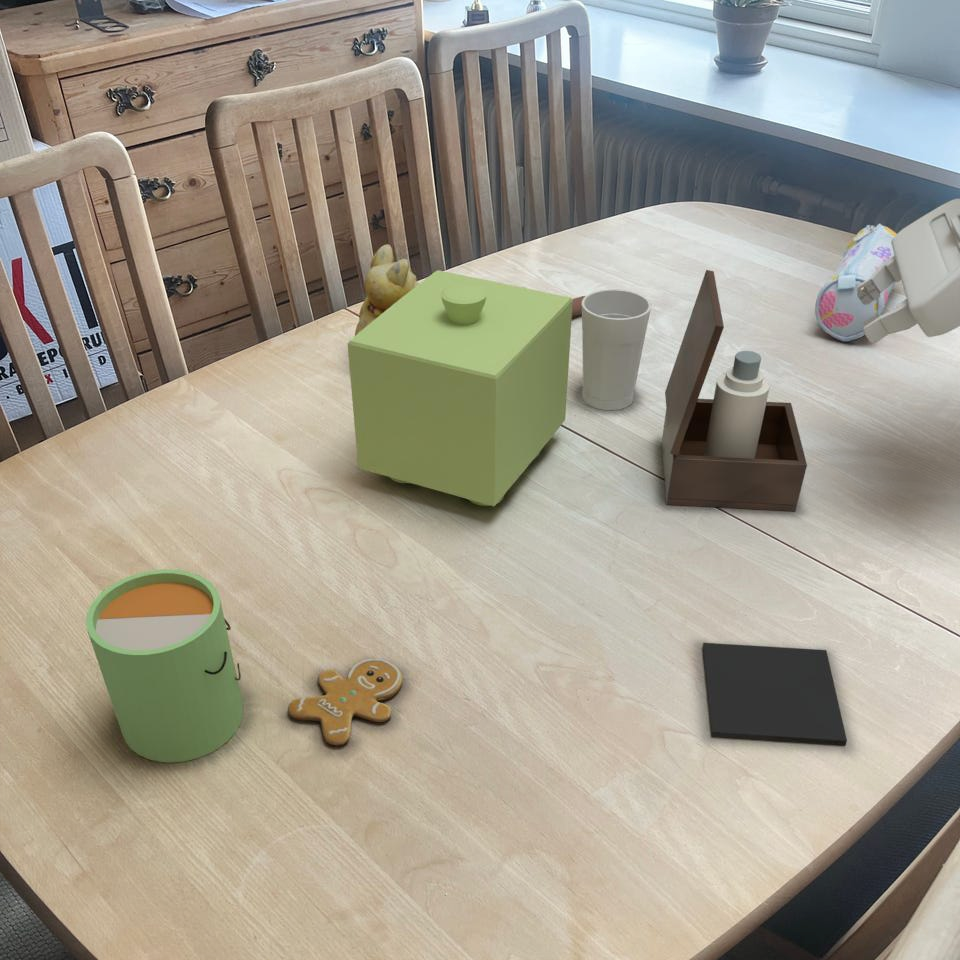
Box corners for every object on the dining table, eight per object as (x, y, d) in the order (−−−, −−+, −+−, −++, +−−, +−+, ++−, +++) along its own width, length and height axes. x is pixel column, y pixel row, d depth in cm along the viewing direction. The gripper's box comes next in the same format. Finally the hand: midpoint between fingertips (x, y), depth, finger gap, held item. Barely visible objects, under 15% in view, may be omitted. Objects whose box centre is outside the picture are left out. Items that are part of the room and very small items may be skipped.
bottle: (749, 456, 117) (772, 345, 108) (754, 484, 113) (778, 370, 104) (700, 454, 117) (719, 343, 108) (703, 481, 114) (723, 368, 104)
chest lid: (713, 271, 107) (706, 269, 107) (724, 326, 98) (715, 325, 98) (671, 394, 117) (664, 392, 117) (677, 455, 107) (669, 453, 107)
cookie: (275, 700, 89) (360, 639, 94) (276, 708, 89) (360, 647, 95) (342, 749, 85) (427, 682, 90) (343, 756, 85) (427, 690, 91)
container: (440, 406, 127) (435, 242, 113) (564, 438, 121) (575, 270, 108) (359, 487, 114) (343, 313, 100) (494, 526, 109) (497, 348, 95)
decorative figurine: (435, 373, 133) (432, 257, 123) (379, 392, 129) (371, 274, 119) (396, 344, 139) (389, 230, 128) (341, 361, 135) (330, 246, 125)
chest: (780, 447, 120) (791, 402, 116) (795, 511, 111) (807, 465, 107) (661, 441, 121) (667, 396, 117) (666, 504, 112) (673, 458, 108)
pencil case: (838, 279, 154) (854, 214, 147) (899, 290, 151) (918, 224, 144) (805, 338, 140) (821, 269, 133) (871, 352, 137) (890, 282, 131)
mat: (825, 654, 95) (826, 649, 94) (845, 745, 86) (847, 740, 86) (702, 647, 95) (703, 642, 95) (711, 736, 87) (712, 731, 87)
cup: (630, 378, 132) (640, 286, 124) (648, 410, 126) (660, 316, 118) (568, 383, 131) (574, 291, 123) (584, 416, 125) (591, 321, 117)
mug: (242, 758, 85) (218, 651, 77) (111, 766, 85) (73, 658, 77) (254, 653, 95) (234, 547, 86) (137, 659, 94) (105, 553, 86)
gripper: (969, 165, 102) (839, 253, 110) (1005, 234, 87) (852, 331, 94) (999, 217, 104) (871, 300, 112) (1041, 293, 89) (888, 383, 96)
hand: (862, 315), depth 103 cm, fingers open, 8 cm apart
